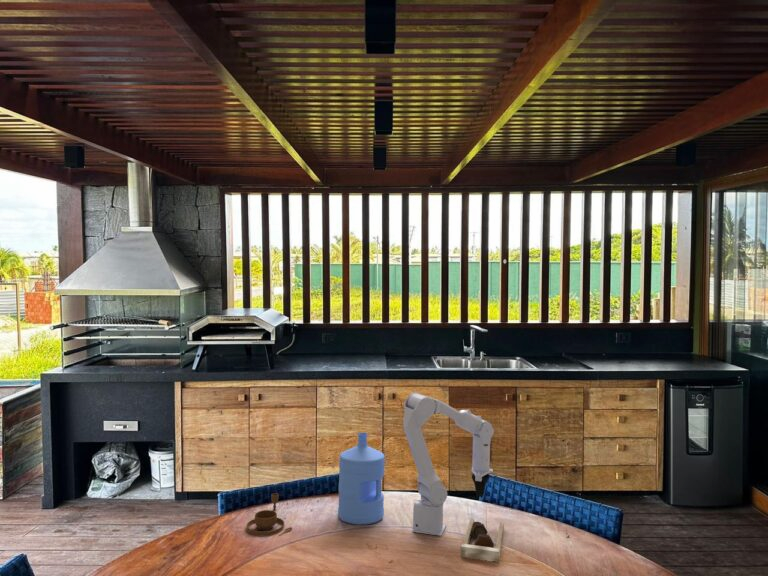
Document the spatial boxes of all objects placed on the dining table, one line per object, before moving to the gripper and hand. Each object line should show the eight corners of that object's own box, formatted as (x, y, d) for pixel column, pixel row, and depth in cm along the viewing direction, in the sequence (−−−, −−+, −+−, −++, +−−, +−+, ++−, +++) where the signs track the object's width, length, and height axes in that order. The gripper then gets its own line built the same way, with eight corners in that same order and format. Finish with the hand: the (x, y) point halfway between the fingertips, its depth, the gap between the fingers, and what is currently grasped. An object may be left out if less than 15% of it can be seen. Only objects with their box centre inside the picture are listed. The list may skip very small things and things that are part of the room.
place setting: (231, 529, 173) (231, 511, 174) (272, 509, 191) (273, 492, 191) (273, 542, 165) (274, 523, 165) (313, 519, 182) (313, 502, 183)
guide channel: (460, 556, 157) (460, 546, 157) (470, 524, 180) (470, 515, 180) (498, 562, 154) (498, 551, 154) (503, 528, 177) (503, 519, 177)
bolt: (479, 537, 174) (487, 558, 160) (465, 529, 175) (472, 549, 160) (488, 522, 175) (497, 541, 160) (475, 513, 175) (482, 532, 160)
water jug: (329, 520, 181) (331, 436, 181) (350, 504, 195) (352, 426, 196) (372, 529, 175) (374, 442, 175) (390, 512, 189) (392, 431, 190)
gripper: (491, 462, 175) (490, 505, 175) (494, 451, 189) (494, 490, 188) (469, 460, 177) (468, 502, 176) (474, 449, 191) (473, 488, 190)
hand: (480, 496), depth 183 cm, fingers closed
